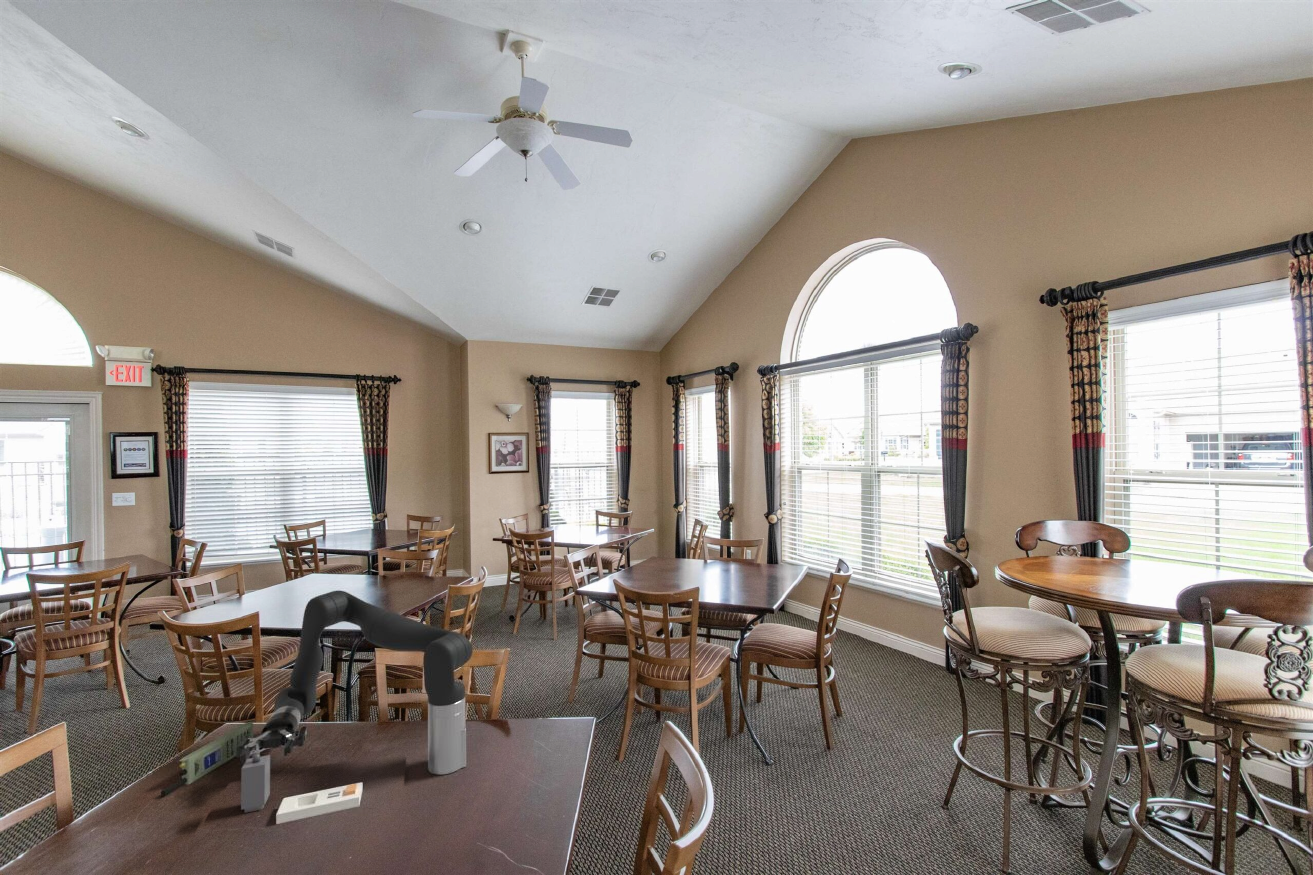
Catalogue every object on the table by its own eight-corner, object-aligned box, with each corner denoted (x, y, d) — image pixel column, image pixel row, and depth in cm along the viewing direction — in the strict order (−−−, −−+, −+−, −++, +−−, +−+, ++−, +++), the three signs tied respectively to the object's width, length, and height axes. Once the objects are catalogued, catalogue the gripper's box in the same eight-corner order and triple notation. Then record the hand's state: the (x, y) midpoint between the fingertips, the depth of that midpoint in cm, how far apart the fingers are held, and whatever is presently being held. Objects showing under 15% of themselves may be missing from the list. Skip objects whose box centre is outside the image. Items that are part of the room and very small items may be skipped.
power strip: (390, 791, 136) (390, 773, 136) (388, 806, 130) (388, 787, 130) (283, 813, 128) (283, 794, 128) (276, 831, 122) (276, 810, 122)
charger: (269, 802, 131) (270, 747, 131) (264, 813, 127) (264, 757, 127) (247, 807, 129) (247, 751, 130) (241, 818, 125) (241, 761, 126)
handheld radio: (256, 745, 159) (168, 799, 134) (245, 745, 160) (156, 799, 135) (255, 721, 159) (168, 770, 135) (244, 721, 160) (156, 770, 135)
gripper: (250, 716, 148) (229, 745, 133) (312, 706, 153) (299, 734, 138) (250, 745, 148) (229, 778, 133) (312, 734, 153) (299, 765, 138)
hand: (265, 755), depth 136 cm, fingers open, 8 cm apart
